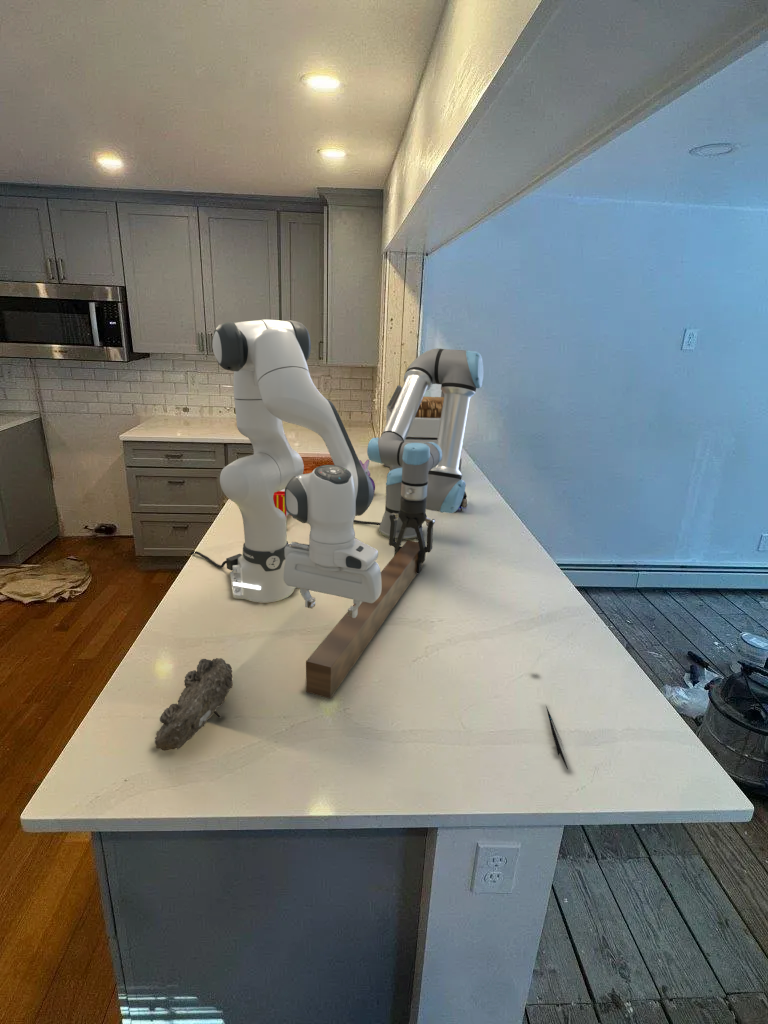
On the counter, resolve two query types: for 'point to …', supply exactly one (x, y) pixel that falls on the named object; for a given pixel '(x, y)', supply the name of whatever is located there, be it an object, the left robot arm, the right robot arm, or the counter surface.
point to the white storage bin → (421, 421)
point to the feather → (556, 737)
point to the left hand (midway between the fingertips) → (331, 611)
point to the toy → (280, 501)
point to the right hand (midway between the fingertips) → (409, 569)
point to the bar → (359, 626)
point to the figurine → (367, 471)
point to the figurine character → (463, 502)
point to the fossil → (195, 703)
